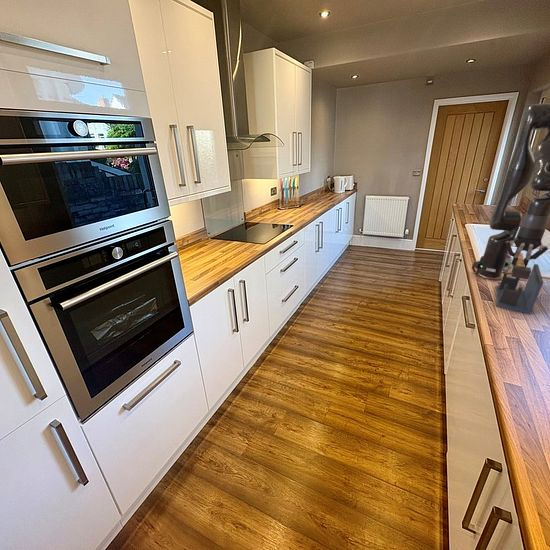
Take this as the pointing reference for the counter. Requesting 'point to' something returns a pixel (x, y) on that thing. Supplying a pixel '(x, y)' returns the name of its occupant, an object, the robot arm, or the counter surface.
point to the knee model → (508, 263)
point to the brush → (520, 269)
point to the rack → (519, 292)
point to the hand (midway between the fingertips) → (518, 266)
